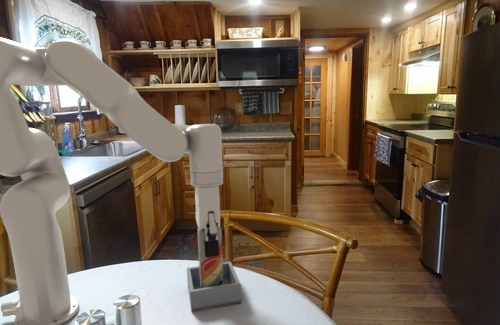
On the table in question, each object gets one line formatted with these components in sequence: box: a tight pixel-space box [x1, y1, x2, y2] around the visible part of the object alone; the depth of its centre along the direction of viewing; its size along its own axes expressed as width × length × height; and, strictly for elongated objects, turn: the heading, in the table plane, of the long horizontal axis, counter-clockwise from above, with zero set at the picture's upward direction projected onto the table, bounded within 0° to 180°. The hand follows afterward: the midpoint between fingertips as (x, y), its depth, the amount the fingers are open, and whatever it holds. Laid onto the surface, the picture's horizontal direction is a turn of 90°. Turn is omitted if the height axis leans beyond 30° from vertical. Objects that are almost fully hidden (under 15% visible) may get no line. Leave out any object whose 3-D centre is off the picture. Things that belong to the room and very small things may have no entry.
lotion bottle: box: [197, 225, 224, 288], centre depth 81 cm, size 6×6×20 cm
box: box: [186, 261, 242, 313], centre depth 83 cm, size 12×12×5 cm
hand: (210, 249), depth 81 cm, fingers closed on lotion bottle, 5 cm apart
